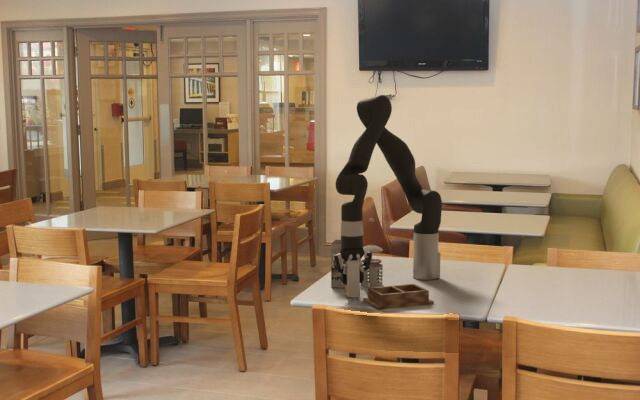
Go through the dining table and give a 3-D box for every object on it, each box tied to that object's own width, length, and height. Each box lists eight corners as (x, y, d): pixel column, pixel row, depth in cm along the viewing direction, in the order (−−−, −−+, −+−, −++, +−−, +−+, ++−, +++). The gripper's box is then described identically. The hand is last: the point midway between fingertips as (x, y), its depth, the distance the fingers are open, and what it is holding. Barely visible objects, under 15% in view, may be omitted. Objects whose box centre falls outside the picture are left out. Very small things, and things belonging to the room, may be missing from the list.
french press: (388, 285, 275) (388, 216, 272) (380, 292, 264) (380, 221, 261) (362, 283, 278) (362, 215, 275) (352, 290, 268) (353, 220, 265)
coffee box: (348, 288, 271) (348, 243, 269) (330, 287, 272) (330, 243, 270) (352, 282, 280) (352, 239, 278) (335, 282, 281) (335, 238, 279)
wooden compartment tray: (416, 295, 260) (417, 282, 259) (433, 304, 249) (434, 290, 248) (362, 301, 253) (362, 287, 253) (377, 310, 242) (377, 296, 241)
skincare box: (345, 292, 260) (344, 258, 258) (357, 292, 260) (357, 257, 259) (347, 297, 254) (347, 261, 252) (360, 296, 254) (359, 261, 253)
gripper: (367, 230, 260) (367, 279, 262) (327, 233, 255) (328, 283, 258) (376, 233, 253) (376, 284, 255) (336, 236, 248) (336, 288, 251)
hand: (352, 283), depth 257 cm, fingers closed on skincare box, 5 cm apart
